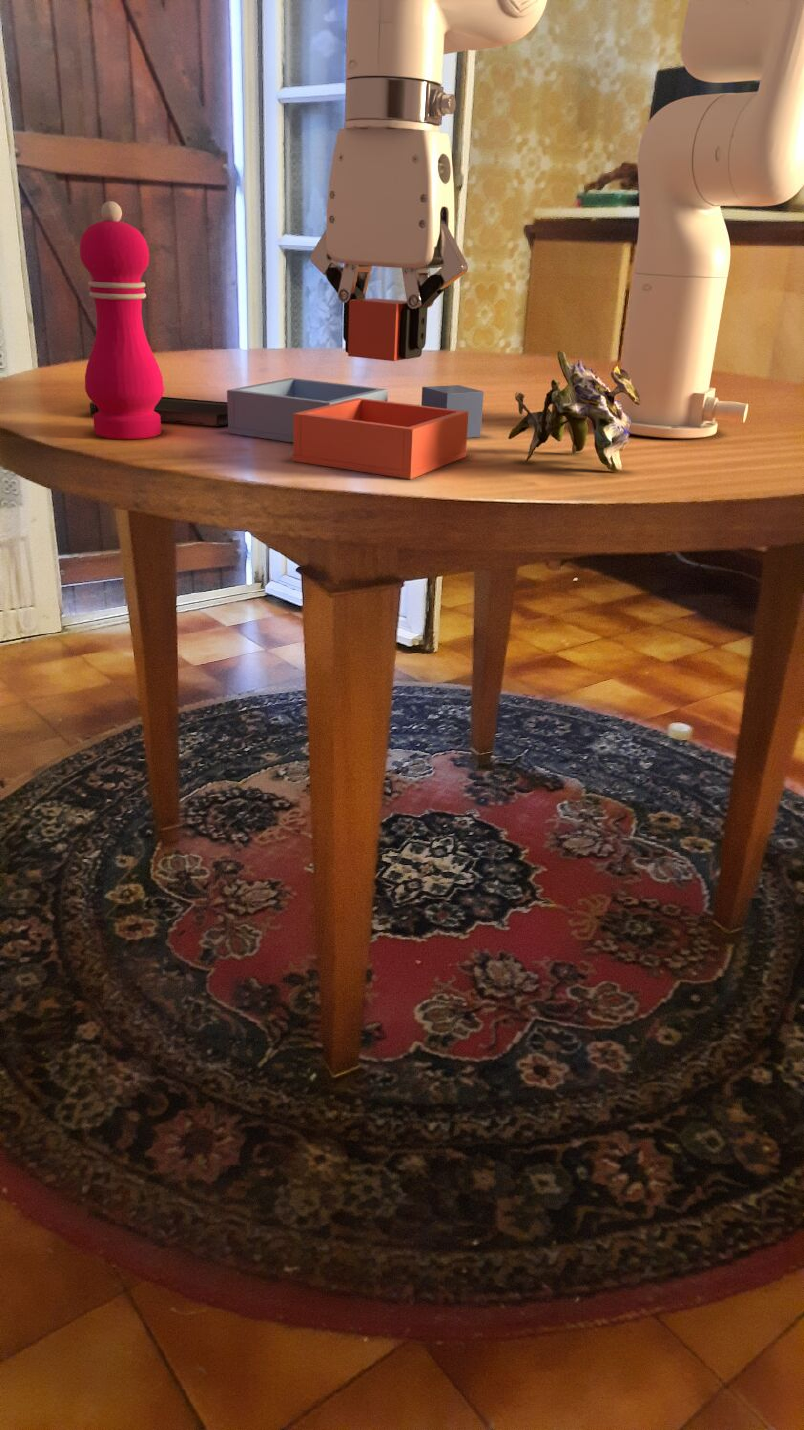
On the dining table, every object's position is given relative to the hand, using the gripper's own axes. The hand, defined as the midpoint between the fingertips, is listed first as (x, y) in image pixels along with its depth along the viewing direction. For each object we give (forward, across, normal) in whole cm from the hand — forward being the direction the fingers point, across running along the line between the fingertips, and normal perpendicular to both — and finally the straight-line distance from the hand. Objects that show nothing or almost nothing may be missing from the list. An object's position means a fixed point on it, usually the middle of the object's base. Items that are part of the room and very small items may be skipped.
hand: (383, 352), depth 88 cm
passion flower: (+9, -15, -8) cm, 20 cm away
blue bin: (+9, +12, -7) cm, 17 cm away
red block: (0, 0, 0) cm, 0 cm away
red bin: (+9, 0, 0) cm, 9 cm away
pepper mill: (+9, +25, +5) cm, 27 cm away
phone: (+9, +28, -5) cm, 30 cm away
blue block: (+9, 0, -15) cm, 18 cm away
